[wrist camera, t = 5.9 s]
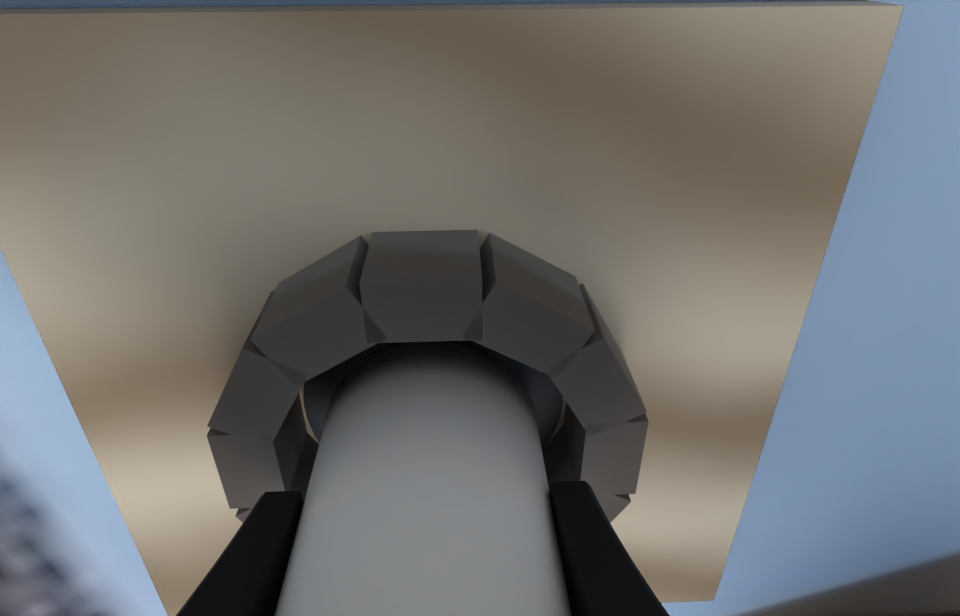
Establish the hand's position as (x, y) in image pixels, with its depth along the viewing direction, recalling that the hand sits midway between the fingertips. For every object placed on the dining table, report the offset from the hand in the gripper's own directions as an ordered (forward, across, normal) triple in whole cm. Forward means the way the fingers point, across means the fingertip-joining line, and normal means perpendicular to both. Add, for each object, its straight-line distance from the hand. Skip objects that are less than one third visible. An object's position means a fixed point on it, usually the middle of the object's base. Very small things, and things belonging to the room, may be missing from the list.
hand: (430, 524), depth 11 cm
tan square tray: (+4, 0, 0) cm, 4 cm away
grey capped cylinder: (+2, 0, 0) cm, 2 cm away
